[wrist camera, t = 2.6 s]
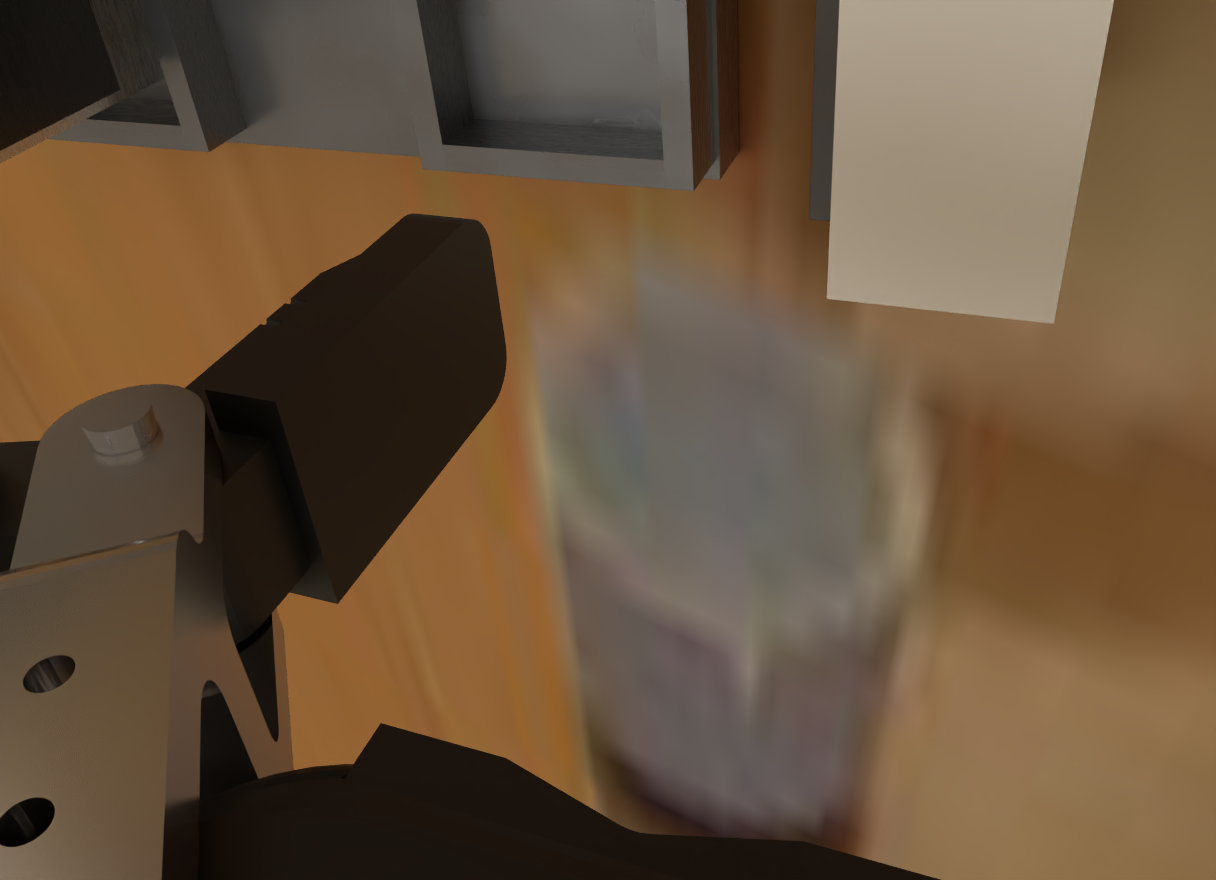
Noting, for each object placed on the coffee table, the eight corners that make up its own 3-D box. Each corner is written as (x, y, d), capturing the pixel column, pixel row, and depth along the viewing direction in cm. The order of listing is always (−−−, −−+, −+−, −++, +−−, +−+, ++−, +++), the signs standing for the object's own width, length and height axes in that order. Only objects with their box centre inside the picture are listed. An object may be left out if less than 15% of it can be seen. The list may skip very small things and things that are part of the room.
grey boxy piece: (97, 109, 30) (-255, 291, 23) (-26, -226, 26) (-525, -137, 18) (739, 151, 24) (552, 421, 17) (734, -277, 19) (469, -176, 12)
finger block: (891, 79, 22) (785, 293, 16) (909, -172, 19) (790, -41, 13) (1081, 87, 21) (1053, 323, 14) (1129, -180, 18) (1121, -39, 12)
